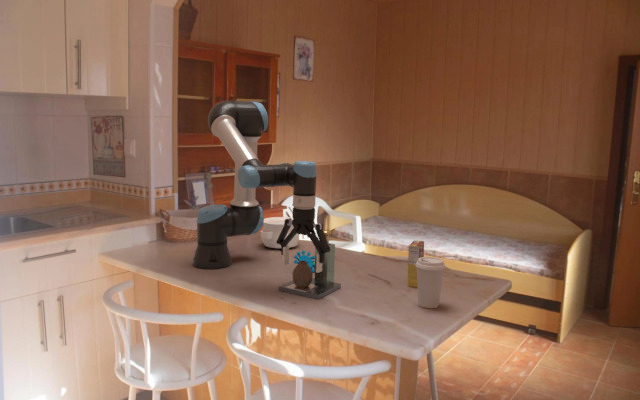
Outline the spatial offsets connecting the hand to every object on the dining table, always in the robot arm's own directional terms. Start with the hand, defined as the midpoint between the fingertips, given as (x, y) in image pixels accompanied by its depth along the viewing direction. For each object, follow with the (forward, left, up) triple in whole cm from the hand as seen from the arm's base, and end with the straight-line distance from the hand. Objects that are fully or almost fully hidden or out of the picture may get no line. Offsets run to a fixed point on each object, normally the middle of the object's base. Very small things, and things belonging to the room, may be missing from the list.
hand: (302, 268), depth 188 cm
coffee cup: (+41, +12, -8) cm, 44 cm away
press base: (+1, +3, -8) cm, 9 cm away
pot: (-43, +48, -8) cm, 65 cm away
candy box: (+29, +31, -8) cm, 43 cm away
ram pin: (+4, +8, +1) cm, 9 cm away
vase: (0, 0, -7) cm, 6 cm away
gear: (-11, +21, -8) cm, 26 cm away
